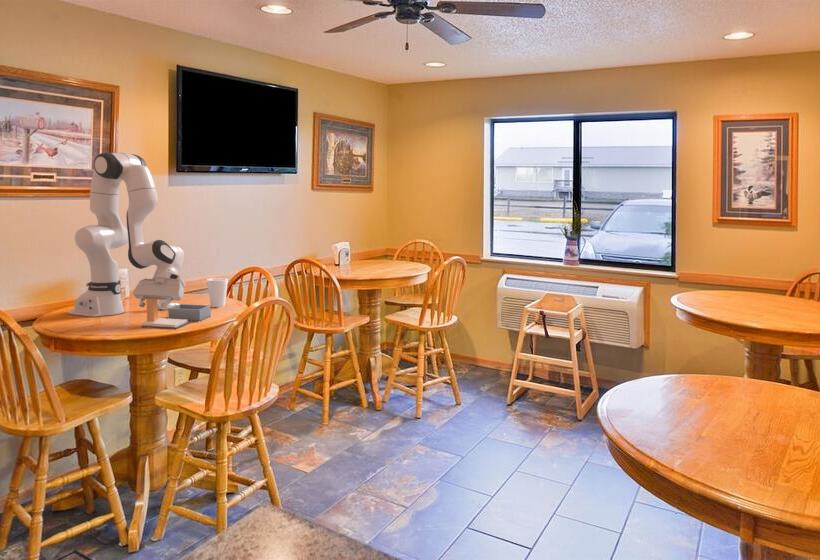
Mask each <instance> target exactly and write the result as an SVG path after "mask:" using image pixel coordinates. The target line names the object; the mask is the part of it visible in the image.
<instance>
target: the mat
mask: <svg viewBox="0 0 820 560" xmlns="http://www.w3.org/2000/svg"><path fill="white" fill-rule="evenodd" d="M189 324H191V321H188V322H186V323H184V324H182V325H179V326H177V327H160V326H142V325H141V328H147V327H150V328H151V329H164V328H166V329H167V330H178V329H180V328H182V327H185V326H187V325H189ZM150 328H149V329H150Z"/></svg>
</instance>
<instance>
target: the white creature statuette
mask: <svg viewBox="0 0 820 560" xmlns="http://www.w3.org/2000/svg"><path fill="white" fill-rule="evenodd" d="M165 301H166V300H157V304H158V310H160V309H162V310H161V311H166V310H165V309H168V308H171V307H173V306H176V305H179V304H180V303H178V302H171V303H170V304H168V305H167V307H166V308H162V307H161V305H162V303H164V302H165Z"/></svg>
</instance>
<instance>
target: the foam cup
mask: <svg viewBox="0 0 820 560" xmlns="http://www.w3.org/2000/svg"><path fill="white" fill-rule="evenodd" d="M206 285H207V291H208V297H209V302H210V303H209V304H210V306H211V308H214V307H220V308H224V307H225V306H226V300H227V292H228V285H229V279H228V278H226V277H225V278H224V277H211V278H207V279H206Z"/></svg>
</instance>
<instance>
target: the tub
mask: <svg viewBox="0 0 820 560" xmlns="http://www.w3.org/2000/svg"><path fill="white" fill-rule="evenodd" d="M178 304H179V305H176V306H173V307H171V308H168V310H167V311H168V319H186V320H188V322H198V321H200V322H202V321H205V320H207V319H209V318H210V316H212V315H211V314H212V313H211V312H212V311H211V308H212V307H211V304H210V305H207V304H189V303H188V304H185V303H178ZM208 317H209V318H208ZM206 318H207V319H206ZM204 319H205V320H204Z"/></svg>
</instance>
